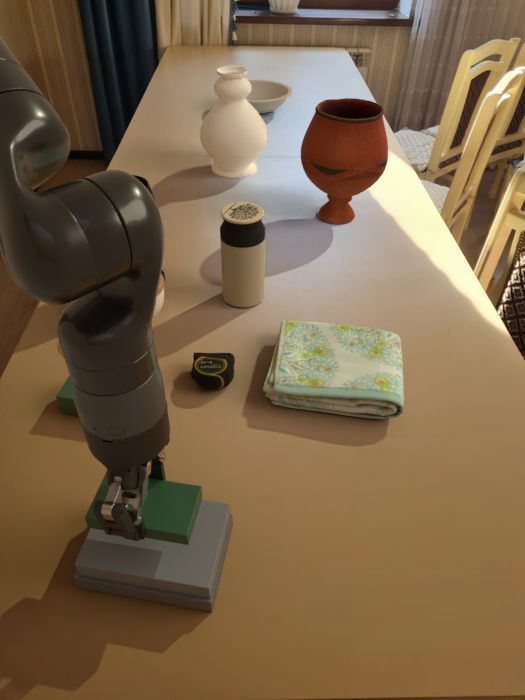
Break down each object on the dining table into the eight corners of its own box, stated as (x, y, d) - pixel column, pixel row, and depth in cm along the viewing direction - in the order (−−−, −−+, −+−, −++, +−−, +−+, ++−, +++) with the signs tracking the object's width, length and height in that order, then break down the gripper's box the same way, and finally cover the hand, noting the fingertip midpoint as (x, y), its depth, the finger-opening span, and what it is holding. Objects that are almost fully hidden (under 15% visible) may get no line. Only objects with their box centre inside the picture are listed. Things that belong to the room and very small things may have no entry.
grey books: (77, 587, 62) (67, 567, 59) (112, 504, 70) (105, 482, 67) (212, 612, 60) (210, 592, 57) (233, 524, 68) (232, 502, 65)
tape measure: (235, 365, 90) (235, 348, 88) (233, 395, 85) (232, 378, 83) (194, 364, 90) (192, 347, 88) (189, 394, 85) (187, 377, 83)
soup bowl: (260, 95, 198) (260, 75, 193) (306, 112, 184) (307, 91, 180) (207, 108, 186) (206, 87, 182) (251, 128, 173) (251, 106, 168)
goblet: (386, 207, 133) (405, 100, 117) (363, 243, 120) (381, 129, 104) (313, 191, 139) (322, 88, 123) (284, 224, 126) (289, 113, 109)
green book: (88, 528, 57) (84, 517, 56) (109, 480, 62) (106, 470, 60) (188, 545, 56) (187, 535, 55) (203, 496, 61) (202, 485, 59)
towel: (278, 333, 97) (279, 310, 93) (399, 347, 94) (404, 324, 91) (261, 407, 83) (261, 384, 80) (401, 426, 81) (407, 403, 77)
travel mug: (271, 293, 106) (274, 208, 94) (248, 314, 101) (247, 227, 89) (239, 280, 109) (237, 196, 97) (214, 299, 104) (209, 213, 92)
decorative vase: (261, 185, 142) (262, 82, 125) (195, 179, 144) (187, 78, 127) (271, 158, 155) (273, 62, 138) (210, 153, 157) (205, 58, 140)
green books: (60, 414, 82) (54, 396, 79) (77, 386, 86) (72, 368, 84) (131, 424, 80) (127, 406, 78) (145, 395, 85) (141, 377, 82)
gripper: (112, 343, 53) (135, 450, 64) (43, 462, 42) (86, 565, 54) (186, 353, 52) (197, 459, 63) (135, 477, 41) (158, 578, 53)
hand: (146, 507), depth 58 cm, fingers closed on green book, 6 cm apart
